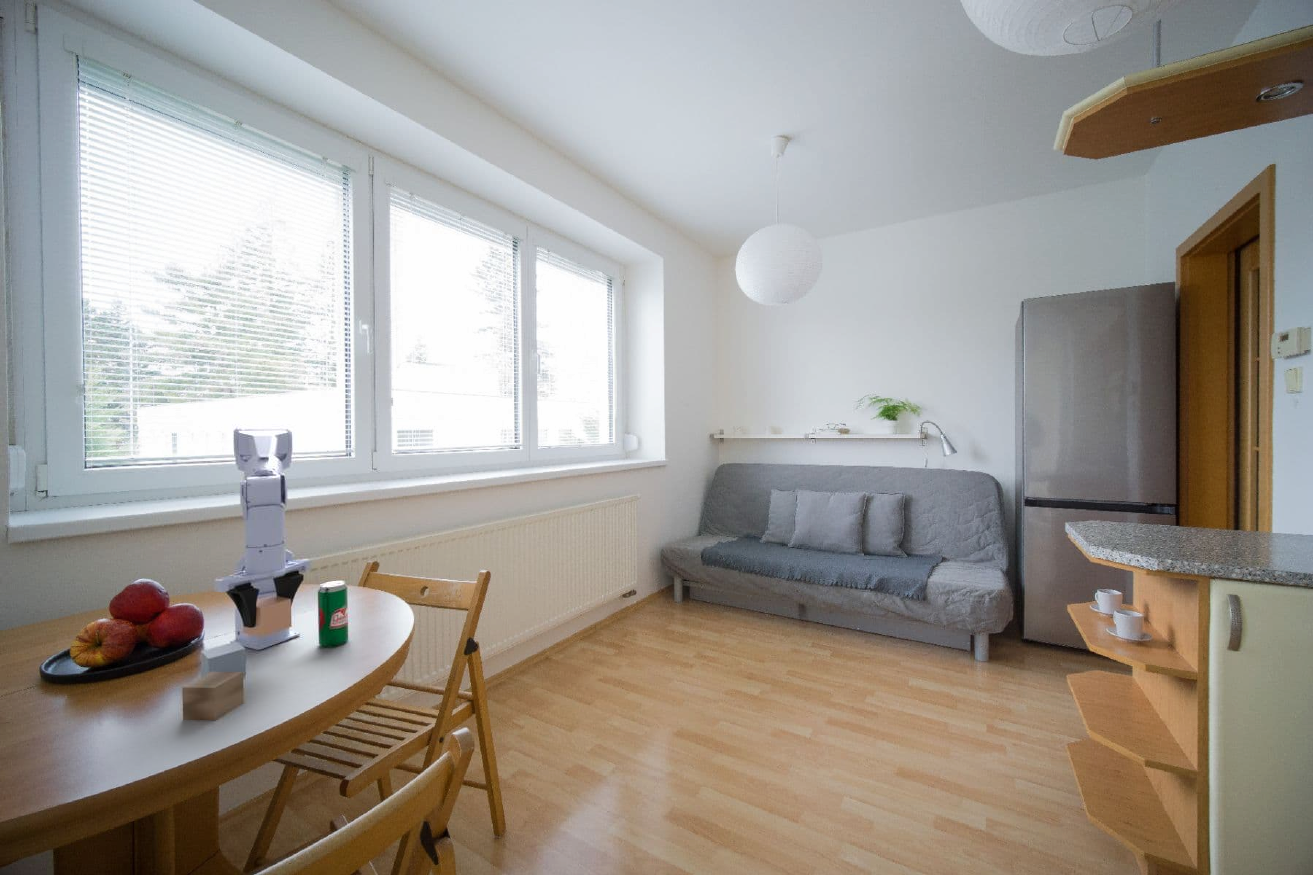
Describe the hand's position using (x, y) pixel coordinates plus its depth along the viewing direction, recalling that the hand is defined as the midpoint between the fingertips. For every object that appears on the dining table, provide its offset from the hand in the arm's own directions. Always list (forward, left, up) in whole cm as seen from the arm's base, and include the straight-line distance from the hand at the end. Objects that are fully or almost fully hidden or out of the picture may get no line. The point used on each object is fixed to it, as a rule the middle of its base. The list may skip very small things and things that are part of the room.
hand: (267, 620), depth 91 cm
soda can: (-1, +13, -9) cm, 16 cm away
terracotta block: (0, 0, -2) cm, 2 cm away
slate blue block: (-5, -4, -9) cm, 11 cm away
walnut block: (+6, -11, -9) cm, 16 cm away
